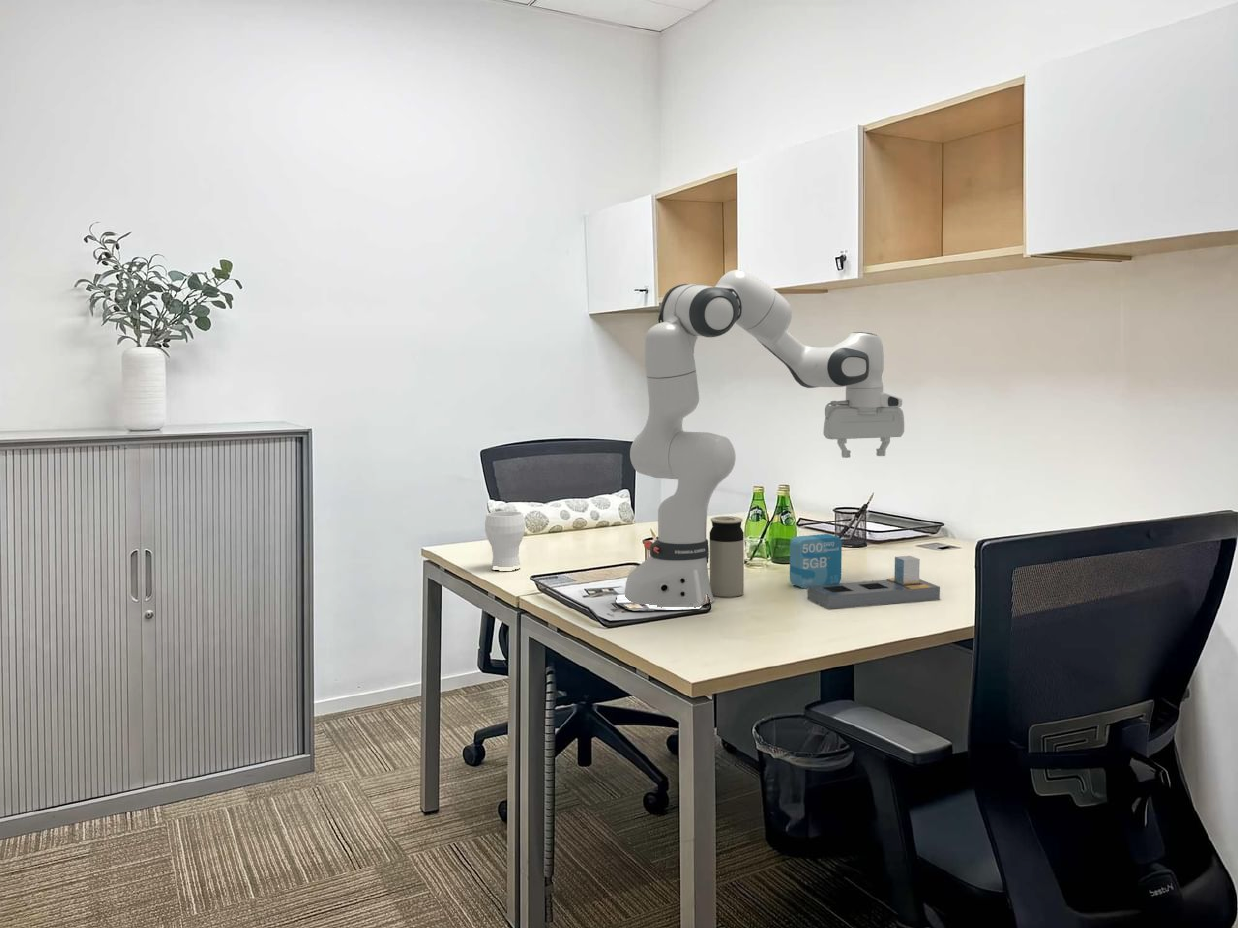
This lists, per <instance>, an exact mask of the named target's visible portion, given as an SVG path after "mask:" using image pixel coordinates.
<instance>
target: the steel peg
mask: <svg viewBox="0 0 1238 928" xmlns="http://www.w3.org/2000/svg"><path fill="white" fill-rule="evenodd" d="M920 560H921V559H920V558H918V557H915V556H912V555H904V556H903V555H902V556H894V577H893V578H894V583H896V584H899V585H901V586H904V587H905V586H910V585H919V579H920V563H921V561H920Z"/></svg>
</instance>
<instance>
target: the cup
mask: <svg viewBox="0 0 1238 928" xmlns="http://www.w3.org/2000/svg"><path fill="white" fill-rule="evenodd" d="M525 532H526V521H525V517H524V514H523V512H521V511H515V510H501V511H492V512H489V513H486V517H485V522H484V533H485V534H486V538H487V541H488V543H489V544H490V546H491V550H492V563H491V566H492V565H493V566H498V567H513V566H518V565H520V566H521V562H520V557H519V553H520V552H519V551H520V545H521V543H522V541H523V539H524V535H525Z"/></svg>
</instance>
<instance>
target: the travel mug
mask: <svg viewBox="0 0 1238 928" xmlns="http://www.w3.org/2000/svg"><path fill="white" fill-rule="evenodd" d="M710 522H711V529H710V530H709V582H710V587H711V592H712V595H713V597H717V598H736V597H737V598H738V597H740V596H742V595H743V594H744V592H745V591H744V590H745V589H744V587H745V586H744V585H745V583H744V582H745V578H744V575H745V573H744V571H745V569H744V565H745V563H744V558H745V557H744V555H745V554H744V545H745V544H744V543H745V541H744V540H745V539H744V536H745V534H744V533H745V532H744V530H743V528H742V527H741V526H742V522H743V518H742V517H739V516H733V515H732V516H728V515H727V516H725V515H724V516H723V515H722V516H721V515H720V516H714V517H713V516H712V517H711V518H710Z"/></svg>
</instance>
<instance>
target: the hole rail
mask: <svg viewBox="0 0 1238 928" xmlns="http://www.w3.org/2000/svg"><path fill="white" fill-rule="evenodd" d="M940 596H941V586H939V585H936V584H935V583H931V582H929V581H926V580H925V579H924V580H923V579H921V578H919V585H910V586H905V587H904V586H901V585H899V584H896V583H894V577H893V578H886V579H880V580H878V579H876V580H866V581H853V582H840V583H838V584H825V585H812V586H808V588H807V600H809V601H811V602H814V603H815V604H817V605H819V606H821V607H823V608H824V609H827V610H835V609H845V608H857V607H870V606H879V605H880V606H881V605H882V606H883V605H892V604H895V605H896V604H904V603H916V602H927V601H937V600H938V601H939V600H941V597H940Z"/></svg>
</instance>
